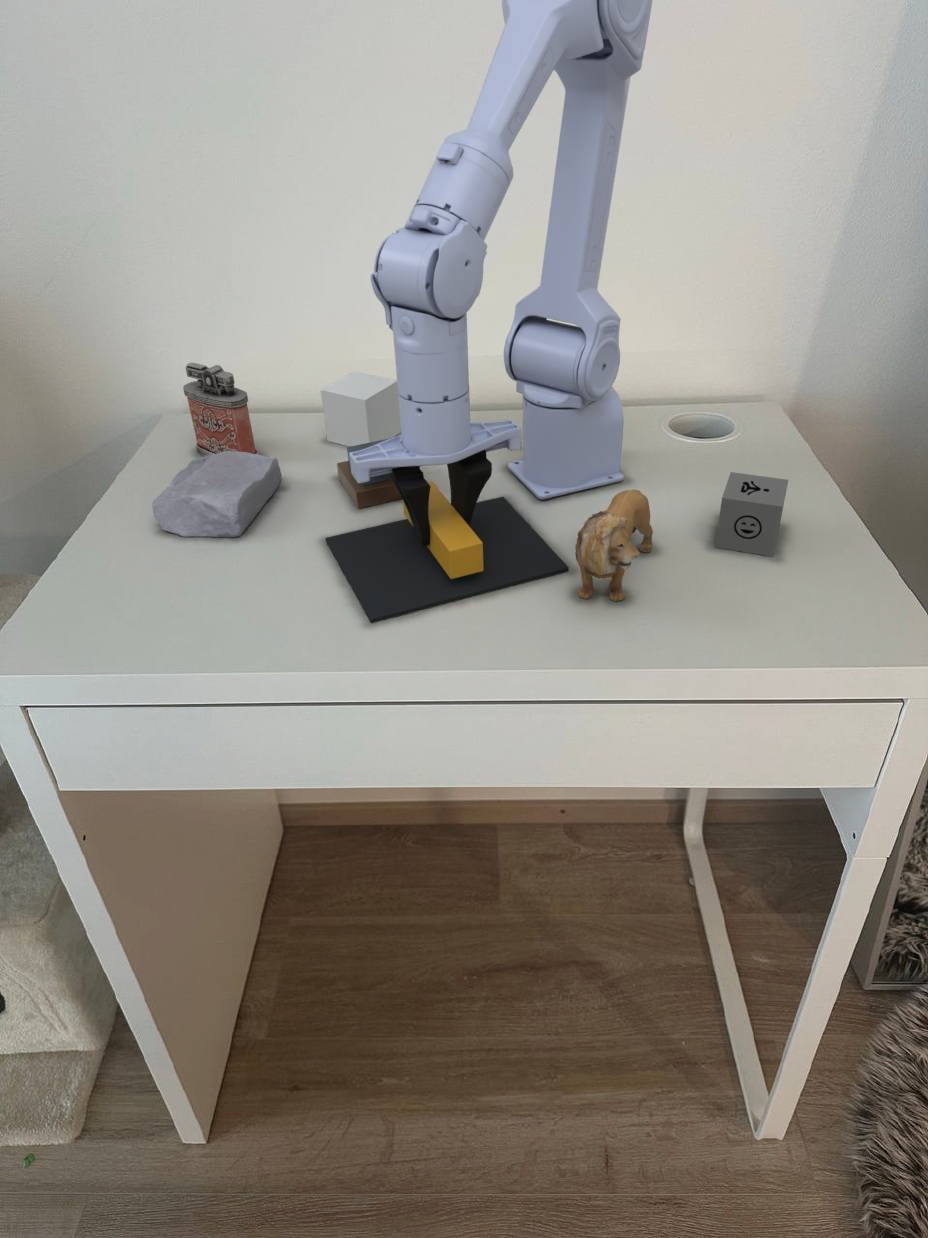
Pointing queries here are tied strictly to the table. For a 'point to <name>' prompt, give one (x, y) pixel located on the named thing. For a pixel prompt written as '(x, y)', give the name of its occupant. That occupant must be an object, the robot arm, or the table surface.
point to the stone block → (217, 494)
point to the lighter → (218, 411)
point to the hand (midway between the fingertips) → (442, 535)
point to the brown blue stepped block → (367, 483)
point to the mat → (413, 578)
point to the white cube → (361, 409)
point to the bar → (451, 537)
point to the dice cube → (751, 513)
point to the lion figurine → (613, 542)
